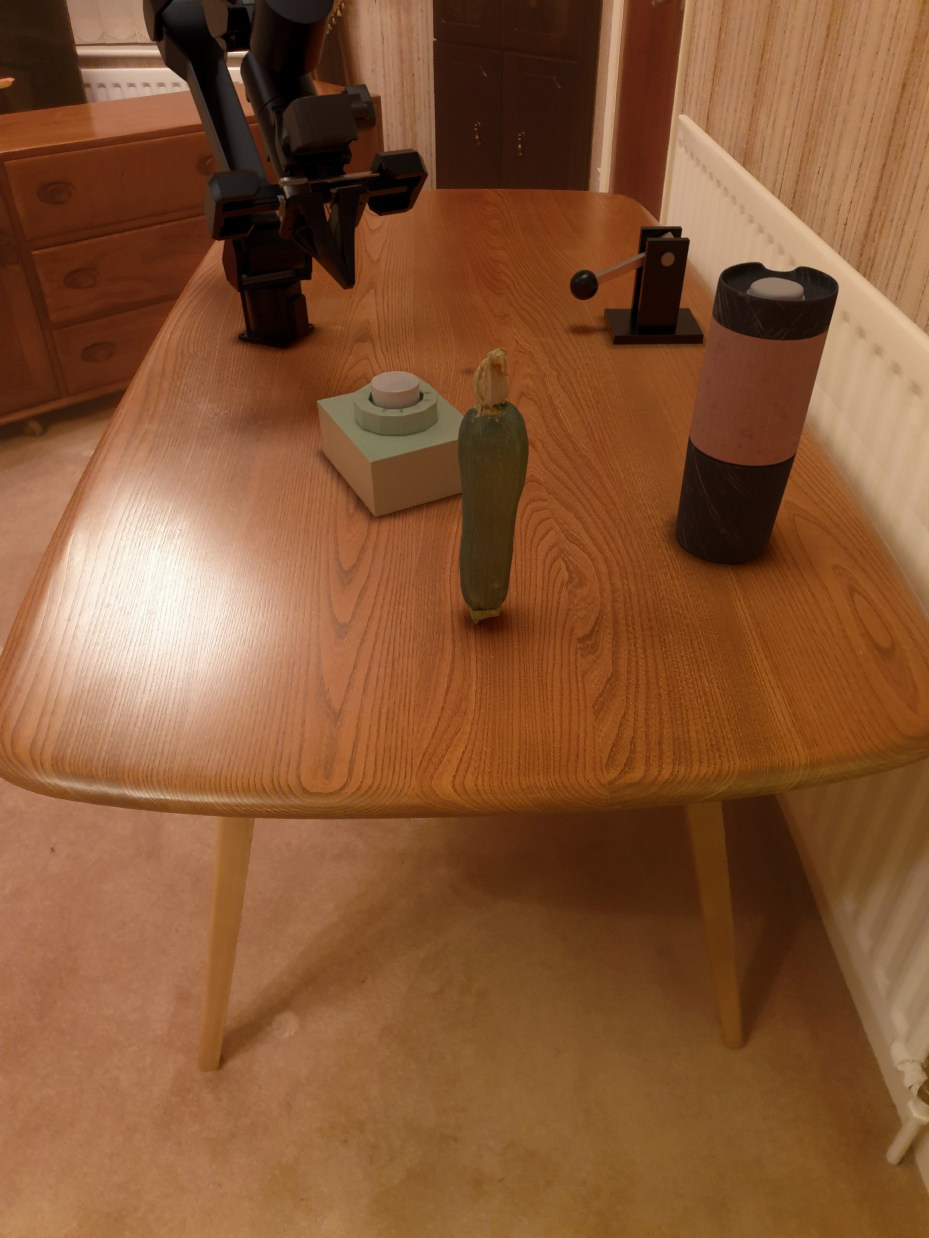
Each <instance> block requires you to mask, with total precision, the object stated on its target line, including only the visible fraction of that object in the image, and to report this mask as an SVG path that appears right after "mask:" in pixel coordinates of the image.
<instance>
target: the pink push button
mask: <svg viewBox="0 0 929 1238" xmlns="http://www.w3.org/2000/svg"><path fill="white" fill-rule="evenodd" d="M370 383H371V391H372V402H373V404H374V406H377V407H381V408H384V409H403V408H407V407H412V406H415V405H416V404H418V403H419V402H420V382H419V377H418V376H417V375H416V374H414V373H412V372H408V371H403V370H392V371H384V372H382V373H378V374H377V375H375V376H373V378H372V379H371V381H370Z"/></svg>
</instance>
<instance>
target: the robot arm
mask: <svg viewBox="0 0 929 1238" xmlns="http://www.w3.org/2000/svg"><path fill="white" fill-rule="evenodd" d="M334 4H335V0H142V13H143V19H144V24H145V28H146V32H147V35H148V37H149V40H150V41H151V42H153V43H155V45H156V47H157V49H158V51H159V54H160V56H161V59H162V61H163V64H164V65H165V66H166V67H167V68H168V69H169V70H170V71H172V72H173V73H174V74H175V75H177V76H178V77H179V78H180V79H181V80H183V81H184V82H185V83H186V84H187V86H188V89H189V92H190V94H191V97H192V100H193V102H194V105H195V108H196V111H197V114H198V117H199V119H200V122H201V125H202V127H203V130H204V132H205V133H204V134H205V136H206V139H207V141H208V143H209V147H210V149H211V152H212V155H213V158H214V160H215V163H216V166H217V168H218V172H211V173H210V175H209V177H208V179H206V180H207V181H206V182H205V183H206V184H205V194H204V195H205V196H204V206H203V207H204V208H203V212H204V217H205V221H206V224H207V227H208V230H209V233H210V236H211V239H212V240H215V241H217V242H221V241H222V242H223V249H222V256H221V263H222V268H223V271H224V275H225V279H226V281H227V282H228V283H229V284H230V286H231V287H232V288H233V289H234V290H235V291H236V292H237V293H239V295H240V301H241V307H242V313H243V319H244V326H245V330H243V331H242V332H240V333H239V334H238V335H237V336H238V340H240V341H245V342H250V343H255V344H258V345H259V344H260V345H265V346H270V347H275V348H281V349H285V348H288V347H290V346H291V345H292V344H294V343H296V342H297V341H299V340H300V339H302V338H303V337H304V336H307V334H309V333H310V332H312V331H313V330H315V328H316V327H315V324H314V323H310V322H309V314H308V305H307V297H306V295H305V293H303V288H302V281H311V280H312V279H313V276H312V274H313V259H314V260H315V261H316V262H317V263H318V264H319V265H320V266H321V267H322V268H323V269H324V270H325V271H326V272H327V273H328V275H329V276H330V277H331V278H332V279H333V280H334V281H335V282H336V283H337V284H338V285H339V286H340V288H342V289H343V290H345V291H346V290H351V289H354V287H355V285H356V243H355V242H356V236H355V235H356V228H357V227H358V226H359V225H360V222H361V220H362V218H363V215H364V212H365V210H366V207H367V206H368V209H369V210H370V211H371V212H372V213H374V214H375V215H377V216H379V217H385V216H393V215H398V214H405V213H407V212H409V211H410V210H412V209H414V207H415V204H416V202H417V201H418V198H419V196H420V193H421V191H422V190H423V187H424V185H425V183H426V181H427V179H428V177H429V172H428V169H427V166H426V164H425V161H424V158H423V156H422V155H421V154H420V152H418V151H417V150H415V149H414V148H403V149H396V150H395V149H394V150H387V151H381V152H380V151H379V152H375V154H374V156H373V159H372V162H371V166H370V167H369V170H368V171H362V172H361V171H360V172H353V173H346V170H345V168H344V167H345V166H346V165H350V164H351V161H352V158H353V152H352V150H351V147H350V146H351V144H352V143H354V142H358V141H359V140H360V137H361V136H360V135H364V134H369V132H371V131H372V130H373V129H374V128H375V127H376V125H377V114H376V109H375V105H374V101H373V98H372V96H371V93H370V91H369V89H368V86H367V84H366V83H360V84H352V85H351V84H350V85H346V86H345V87H344V90H341V91H340V93H339V92H338V93H329V94H319V93H318V90H317V88H316V85H315V82H314V80H313V77H312V72H313V71H315V70H316V69H317V68H319V66H320V64H321V59H322V54H323V52H324V48H325V47H324V46H325V42H326V38H327V33H328V29H329V25H330V20H331V17H332V11H333V8H334ZM239 52H246V53H245V54H244V55H243V58H242V59H241V63H240V66H239V74H240V77H241V81H242V83H243V86H244V94H245V95H244V96H245V100H246V102H247V103H249V104H250V107H251V109H252V112H253V114H254V118H255V121H256V123H257V127H258V130H259V132H260V136H261V138H262V140H263V150H262V152H263V154H264V158H265V160H266V161H265V162H266V163H271V166H272V169H273V172H274V175H275V178H276V180H277V183H272V182H271V181H270V179H269V177H268V173H267V171H266V169H265V166H264V163H263V161H262V158H261V155H260V152H259V149H258V146H257V144H256V142H255V139H254V136H253V133H252V131H251V128H250V125H249V122H248V119H247V116H246V114H245V111H244V108H243V107H242V103H241V100H240V97H239V95H238V92H237V89H236V86H235V84H234V81H233V78H232V76H231V73H230V70H229V68H228V67H229V66H228V65H227V63H228V57H229V56H228V54H229V53H239ZM325 207H326V209H325ZM326 211H327V214H328V219H327V214H326Z"/></svg>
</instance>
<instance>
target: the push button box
mask: <svg viewBox="0 0 929 1238" xmlns="http://www.w3.org/2000/svg"><path fill="white" fill-rule="evenodd" d="M418 378H419V382H420V402H419V403H418V404H416V405H415V406H412V407H407V408H403V409H384V408H381V407H377V406H374V404H373V402H372V391H371V382H369V383H366V385H364V386H362V387H361V388H359V389H358V390H357V389H356V391H354V392H349V393H345V394H344V393H343V394H340V395H335V396H331V397H327V398H323V399H318V400H316V403H317V404H316V405H317V411H318V412H317V413H318V421H319V428H320V435H321V443H322V451H323V454H324V455H325V457H326V458H327V460H328V461H329V462H330V463H331V464H332V465H333V467H334V468H335V469H336V470H337V472H338V473H339V474H340V475H341V477H342V478H343V479H344V480H345V482H346V483H347V484H348V485H349V487H350V488H351V489H352V490H353V492H354V493H355V494H356V495H357V496H358V498H359V499H360V500H361V501H362V503H363V504H364V505H365V506H366V508H367V509H368V510H369V511H370V512H371V514H372V515H373V517H375V518H379V517H382V516H385V515H388V514H392V513H395V512H400V511H402V510H403V511H404V510H406V509H410V508H413V507H416V506H420V505H424V504H428V503H430V502H434V501H437V500H441V499H445V498H448V497H451V496H455V495H458V494H462V486H461V478H460V468H459V461H458V433H459V428H460V425H461V422H462V419H463V417H464V414H462V413H461V412H460V411H459V410H458V409H457V408H455V407H454V406H453V405H452V404H451V403H450V402H449V401H448V400H446V398H444V397H443V396H442V395H441V394H440V393H439V392H438V390H436V389H435V388H434V387H432V385H431V384H429V383H427V382H426V381H425V380H424V379H423V378H422V377H418Z"/></svg>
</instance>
